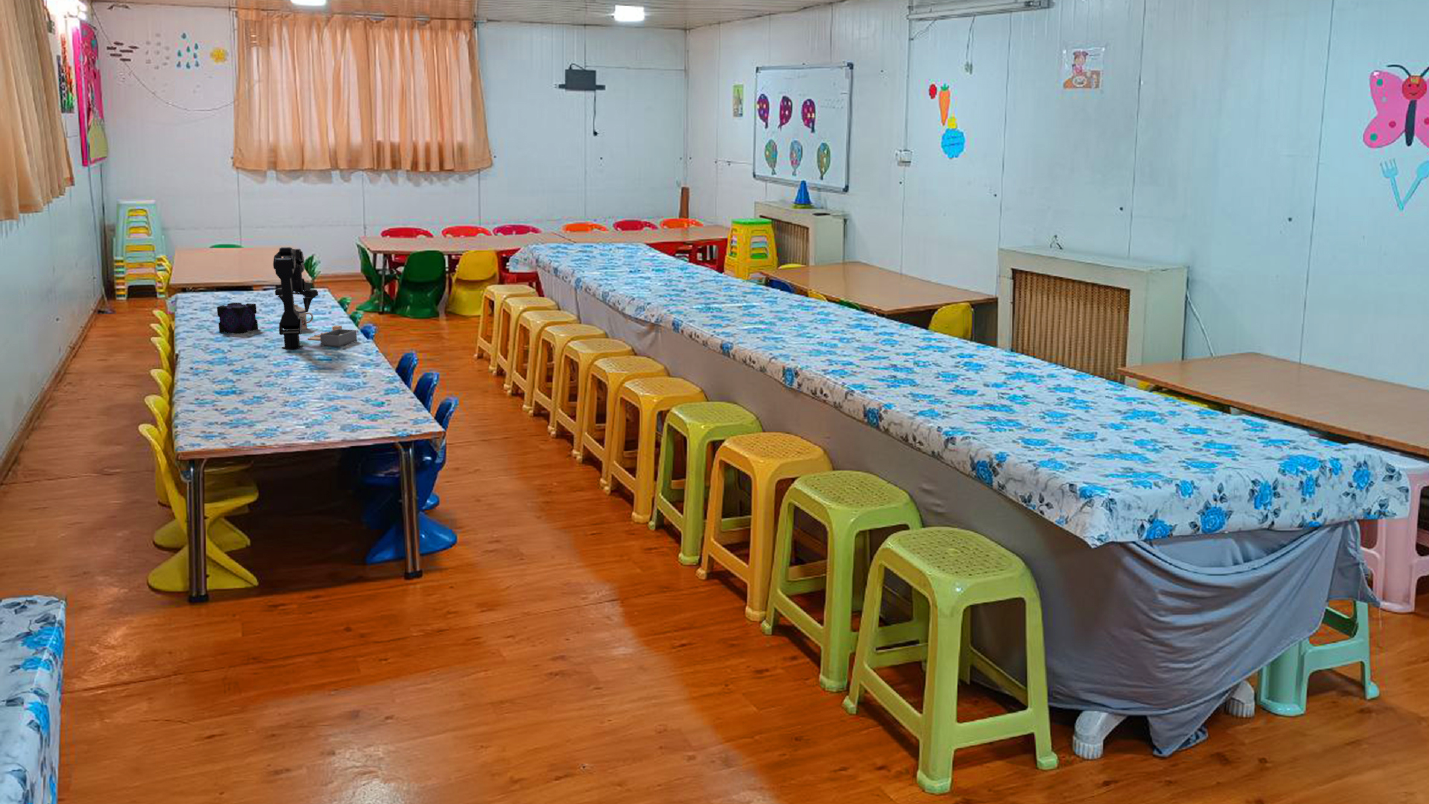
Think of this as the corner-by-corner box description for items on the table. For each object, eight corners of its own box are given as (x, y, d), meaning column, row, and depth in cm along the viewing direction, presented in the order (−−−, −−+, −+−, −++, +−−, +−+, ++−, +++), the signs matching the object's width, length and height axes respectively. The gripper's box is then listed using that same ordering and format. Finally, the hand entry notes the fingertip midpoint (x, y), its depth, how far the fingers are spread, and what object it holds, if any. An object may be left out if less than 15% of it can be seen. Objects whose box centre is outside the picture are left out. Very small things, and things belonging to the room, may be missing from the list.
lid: (327, 341, 513) (326, 333, 512) (307, 340, 516) (307, 332, 515) (348, 333, 529) (348, 326, 528) (330, 332, 532) (329, 324, 531)
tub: (339, 347, 501) (338, 336, 499) (321, 346, 503) (320, 334, 502) (356, 341, 514) (356, 330, 512) (339, 339, 516) (338, 328, 515)
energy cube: (219, 332, 529) (216, 306, 526) (235, 327, 541) (233, 302, 538) (242, 333, 527) (239, 308, 524) (258, 329, 538) (255, 303, 535)
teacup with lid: (289, 331, 533) (287, 306, 530) (285, 328, 540) (283, 303, 537) (316, 329, 539) (314, 304, 536) (311, 325, 547) (309, 301, 544)
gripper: (324, 275, 518) (326, 309, 522) (288, 273, 523) (290, 307, 527) (309, 279, 508) (312, 313, 512) (272, 276, 512) (275, 311, 516)
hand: (298, 311), depth 517 cm, fingers open, 9 cm apart
